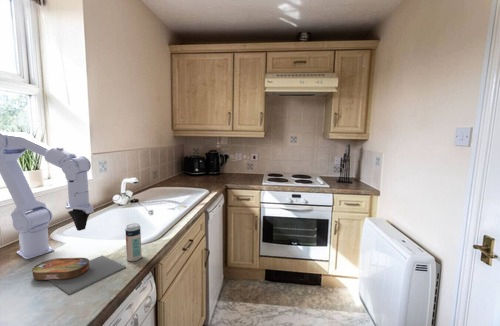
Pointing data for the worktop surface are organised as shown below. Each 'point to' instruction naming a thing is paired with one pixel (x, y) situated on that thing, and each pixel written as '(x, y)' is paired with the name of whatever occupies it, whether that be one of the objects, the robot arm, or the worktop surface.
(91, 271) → the mat
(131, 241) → the beer can
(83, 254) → the worktop surface
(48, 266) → the tin
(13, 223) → the robot arm
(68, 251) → the worktop surface
